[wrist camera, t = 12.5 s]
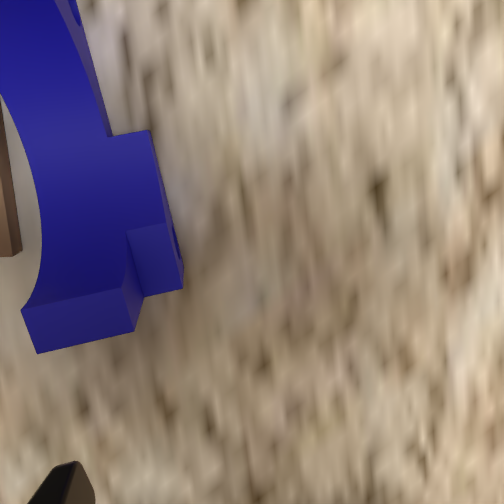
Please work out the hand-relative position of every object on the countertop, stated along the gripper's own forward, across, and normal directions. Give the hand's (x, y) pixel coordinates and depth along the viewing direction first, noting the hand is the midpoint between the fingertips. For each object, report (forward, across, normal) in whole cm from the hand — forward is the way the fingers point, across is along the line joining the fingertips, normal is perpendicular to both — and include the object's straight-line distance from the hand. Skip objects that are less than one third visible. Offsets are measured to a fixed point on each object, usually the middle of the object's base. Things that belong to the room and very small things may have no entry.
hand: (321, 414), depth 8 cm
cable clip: (+13, +5, -4) cm, 14 cm away
